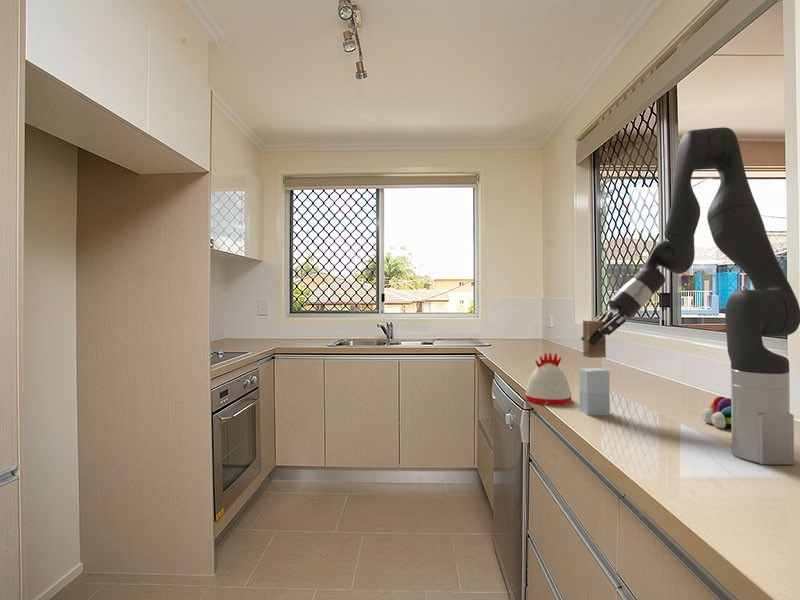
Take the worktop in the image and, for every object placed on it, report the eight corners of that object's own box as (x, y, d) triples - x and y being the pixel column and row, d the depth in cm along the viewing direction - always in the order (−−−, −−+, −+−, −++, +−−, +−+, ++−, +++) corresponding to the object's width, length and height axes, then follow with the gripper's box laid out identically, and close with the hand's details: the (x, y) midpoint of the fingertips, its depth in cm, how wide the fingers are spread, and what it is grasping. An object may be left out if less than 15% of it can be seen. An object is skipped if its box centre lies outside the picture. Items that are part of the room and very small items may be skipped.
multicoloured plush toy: (732, 421, 121) (732, 393, 121) (757, 432, 111) (757, 401, 111) (698, 421, 122) (697, 393, 122) (719, 431, 112) (719, 401, 112)
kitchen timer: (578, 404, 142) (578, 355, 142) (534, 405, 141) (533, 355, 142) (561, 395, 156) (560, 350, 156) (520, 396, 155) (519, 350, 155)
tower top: (609, 393, 128) (609, 371, 128) (587, 393, 129) (587, 371, 129) (600, 389, 134) (600, 368, 134) (579, 389, 135) (579, 368, 135)
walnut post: (605, 357, 129) (605, 321, 129) (589, 357, 129) (588, 321, 129) (599, 355, 134) (598, 320, 134) (583, 355, 134) (583, 320, 134)
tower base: (609, 415, 128) (609, 393, 128) (587, 415, 129) (587, 393, 129) (600, 410, 134) (600, 389, 134) (579, 410, 135) (579, 389, 135)
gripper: (609, 290, 139) (568, 331, 139) (632, 288, 124) (586, 334, 125) (628, 307, 138) (587, 349, 139) (652, 308, 124) (607, 354, 124)
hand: (587, 341), depth 132 cm, fingers closed on walnut post, 4 cm apart
